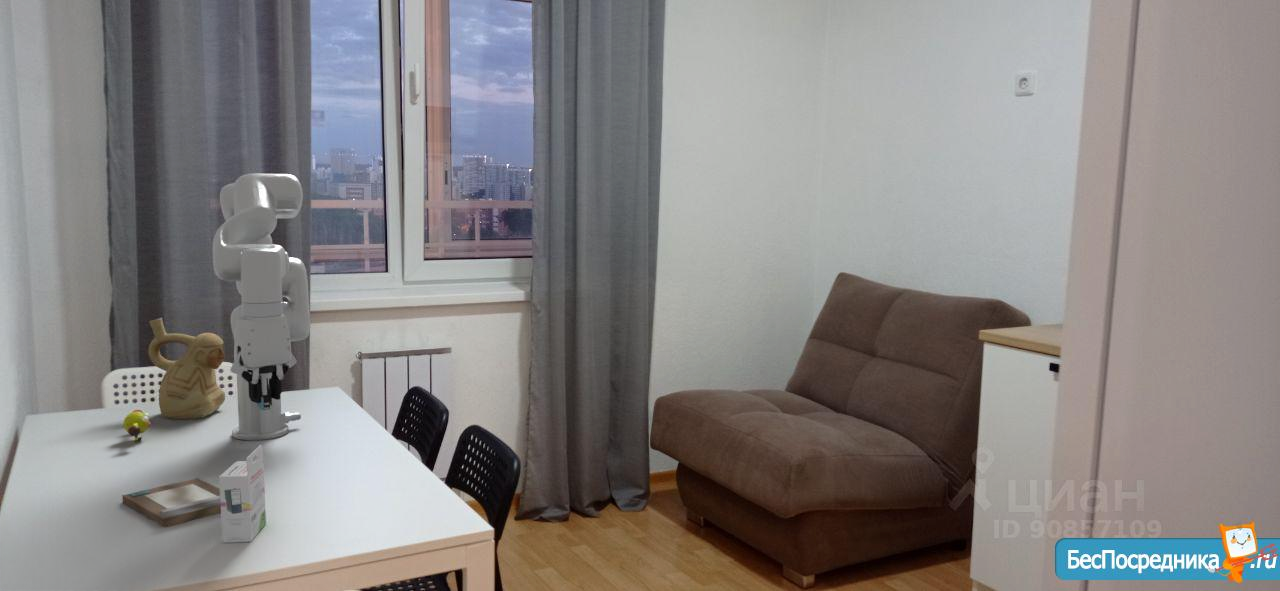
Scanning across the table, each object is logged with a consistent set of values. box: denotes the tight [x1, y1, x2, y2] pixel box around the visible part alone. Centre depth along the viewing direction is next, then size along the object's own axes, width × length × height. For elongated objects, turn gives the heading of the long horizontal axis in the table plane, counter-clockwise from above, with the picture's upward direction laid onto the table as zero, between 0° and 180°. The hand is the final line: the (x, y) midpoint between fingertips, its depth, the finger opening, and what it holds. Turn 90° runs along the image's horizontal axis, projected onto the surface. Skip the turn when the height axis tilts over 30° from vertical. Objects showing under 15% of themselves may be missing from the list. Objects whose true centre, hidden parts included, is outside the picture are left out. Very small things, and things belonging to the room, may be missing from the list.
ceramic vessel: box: [148, 317, 226, 420], centre depth 238 cm, size 17×20×25 cm
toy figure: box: [123, 409, 152, 442], centre depth 215 cm, size 18×6×7 cm, turn 26°
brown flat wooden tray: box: [122, 477, 221, 528], centre depth 173 cm, size 14×18×3 cm
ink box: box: [218, 444, 267, 544], centre depth 159 cm, size 9×5×15 cm, turn 5°
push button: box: [251, 365, 276, 410], centre depth 186 cm, size 7×5×10 cm
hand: (265, 399), depth 186 cm, fingers closed on push button, 3 cm apart
